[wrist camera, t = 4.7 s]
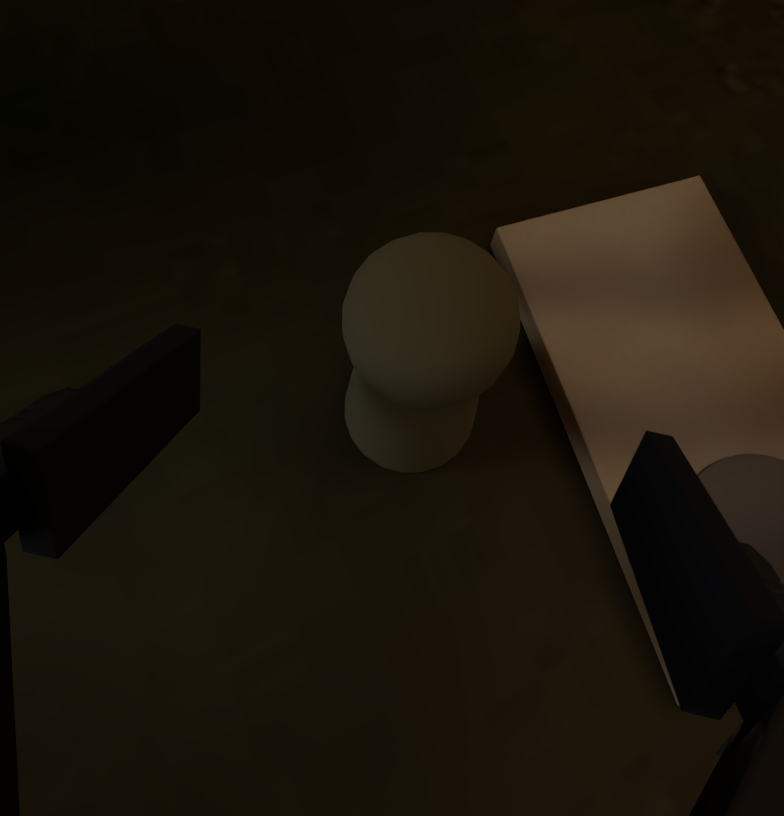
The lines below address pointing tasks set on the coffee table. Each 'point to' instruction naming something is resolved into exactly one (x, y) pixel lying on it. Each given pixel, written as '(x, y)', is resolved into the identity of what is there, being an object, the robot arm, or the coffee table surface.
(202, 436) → the coffee table surface
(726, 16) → the coffee table surface
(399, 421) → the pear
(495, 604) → the coffee table surface
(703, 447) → the beech board
